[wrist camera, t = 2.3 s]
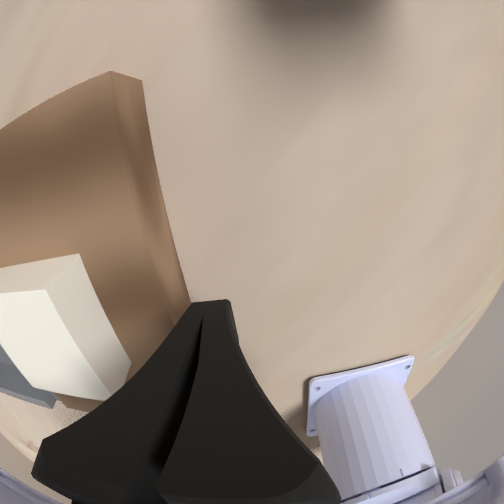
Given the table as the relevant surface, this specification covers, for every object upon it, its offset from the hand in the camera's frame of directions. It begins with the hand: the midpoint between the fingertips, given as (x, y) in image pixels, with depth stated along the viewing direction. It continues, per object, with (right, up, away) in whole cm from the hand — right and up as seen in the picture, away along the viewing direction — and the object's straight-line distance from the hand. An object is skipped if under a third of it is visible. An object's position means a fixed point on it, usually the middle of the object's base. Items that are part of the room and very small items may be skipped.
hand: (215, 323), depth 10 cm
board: (-8, +1, +4) cm, 9 cm away
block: (-8, -1, +1) cm, 8 cm away
